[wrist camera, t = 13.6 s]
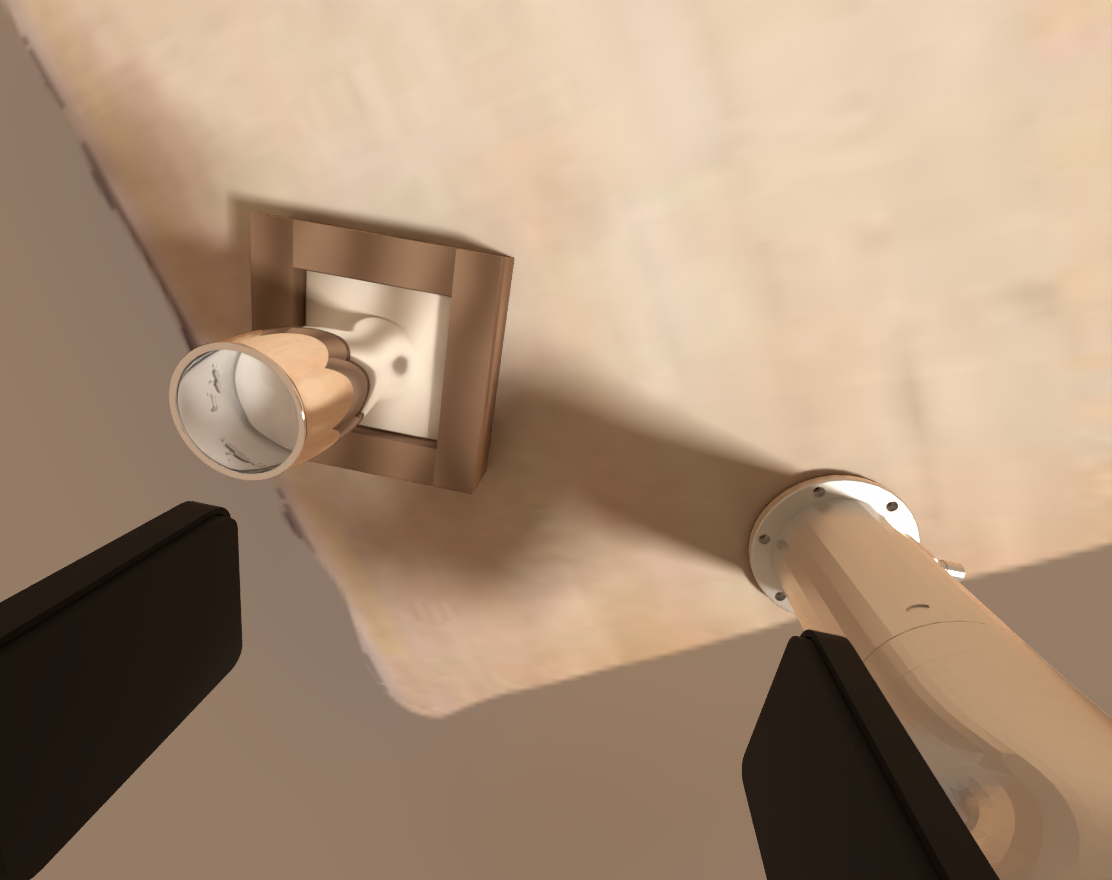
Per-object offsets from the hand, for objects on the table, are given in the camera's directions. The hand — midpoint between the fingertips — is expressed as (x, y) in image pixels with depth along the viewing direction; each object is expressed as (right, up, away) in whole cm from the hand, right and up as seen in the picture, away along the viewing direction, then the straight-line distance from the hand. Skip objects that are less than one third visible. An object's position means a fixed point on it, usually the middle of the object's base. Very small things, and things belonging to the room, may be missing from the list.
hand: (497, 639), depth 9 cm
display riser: (-12, +10, +32) cm, 36 cm away
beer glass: (-12, +9, +29) cm, 33 cm away
